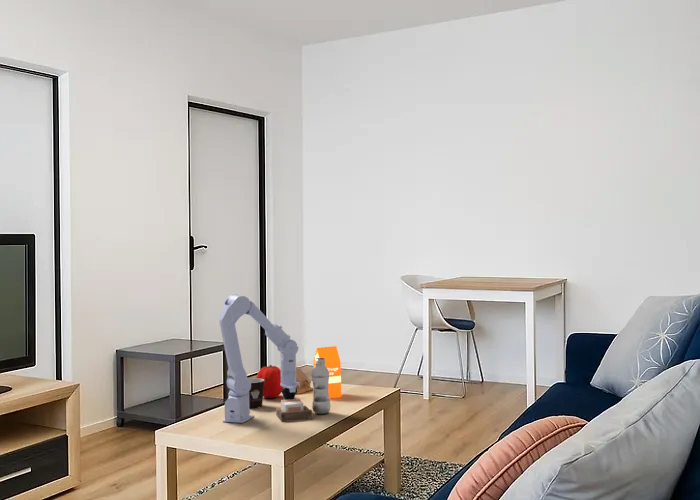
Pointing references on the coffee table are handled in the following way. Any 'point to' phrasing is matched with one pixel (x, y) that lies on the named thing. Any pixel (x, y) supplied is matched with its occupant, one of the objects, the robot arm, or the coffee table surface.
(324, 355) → the orange juice
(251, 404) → the coffee mug
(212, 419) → the coffee table surface
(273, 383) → the red bell pepper
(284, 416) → the display stand
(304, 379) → the ceramic model
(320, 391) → the plastic bottle
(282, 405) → the carton
